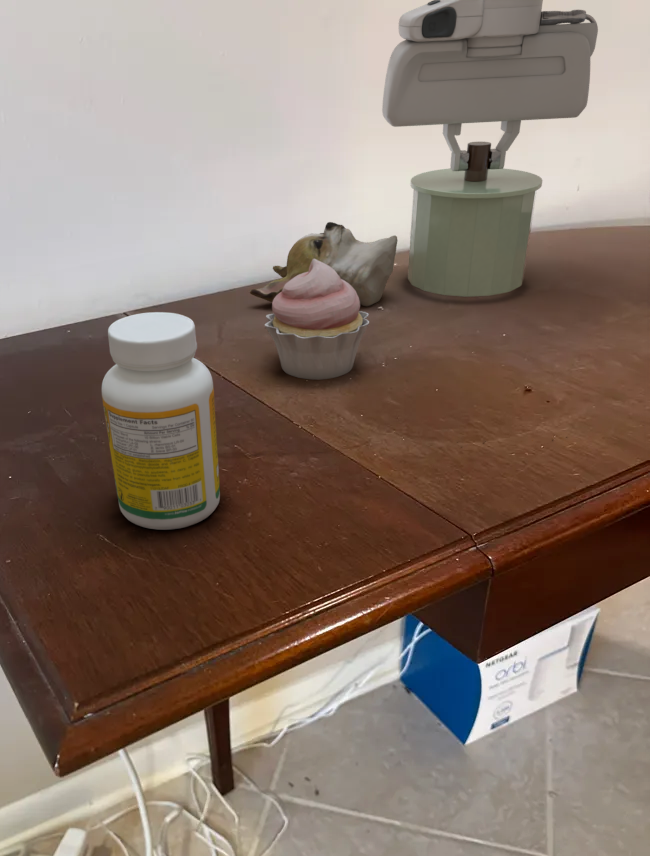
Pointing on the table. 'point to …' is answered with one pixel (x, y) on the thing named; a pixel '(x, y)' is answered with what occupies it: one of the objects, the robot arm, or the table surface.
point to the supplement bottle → (161, 422)
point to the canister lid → (476, 179)
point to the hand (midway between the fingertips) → (476, 169)
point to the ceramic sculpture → (339, 262)
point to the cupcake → (317, 324)
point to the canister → (469, 244)
